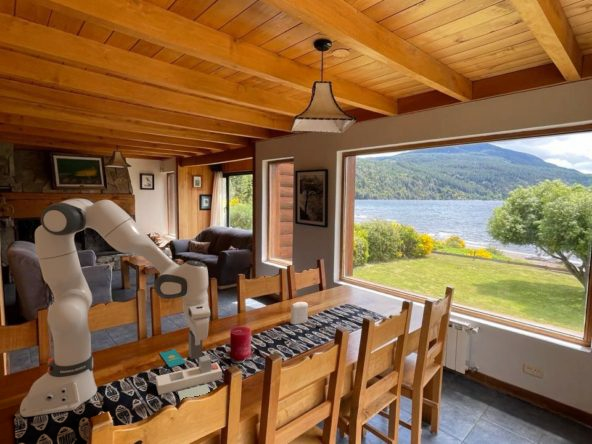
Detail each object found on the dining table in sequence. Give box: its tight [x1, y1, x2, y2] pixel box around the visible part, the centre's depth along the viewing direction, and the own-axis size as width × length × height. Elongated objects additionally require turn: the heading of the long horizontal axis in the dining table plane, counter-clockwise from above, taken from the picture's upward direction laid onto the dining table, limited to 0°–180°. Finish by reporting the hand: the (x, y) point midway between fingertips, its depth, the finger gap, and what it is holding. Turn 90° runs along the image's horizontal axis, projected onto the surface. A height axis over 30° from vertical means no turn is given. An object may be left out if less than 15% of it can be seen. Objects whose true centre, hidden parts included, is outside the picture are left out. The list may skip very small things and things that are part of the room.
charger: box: [188, 330, 203, 360], centre depth 125 cm, size 4×4×9 cm
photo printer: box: [289, 301, 309, 325], centre depth 196 cm, size 10×4×12 cm, turn 116°
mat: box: [177, 383, 211, 402], centre depth 127 cm, size 11×7×1 cm, turn 120°
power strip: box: [155, 354, 223, 396], centre depth 134 cm, size 24×7×8 cm, turn 120°
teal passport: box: [159, 348, 187, 369], centre depth 151 cm, size 7×1×15 cm
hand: (195, 341), depth 125 cm, fingers closed on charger, 4 cm apart
